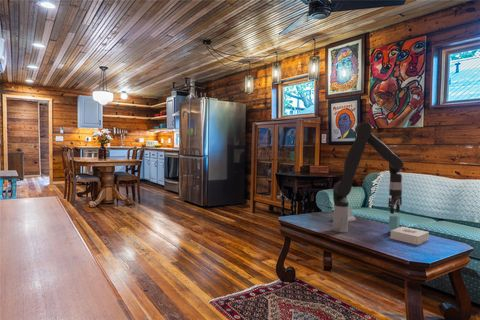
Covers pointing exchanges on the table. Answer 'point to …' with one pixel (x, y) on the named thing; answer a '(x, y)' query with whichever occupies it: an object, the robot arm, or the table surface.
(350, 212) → the hinge
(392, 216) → the bracket
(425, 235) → the block
